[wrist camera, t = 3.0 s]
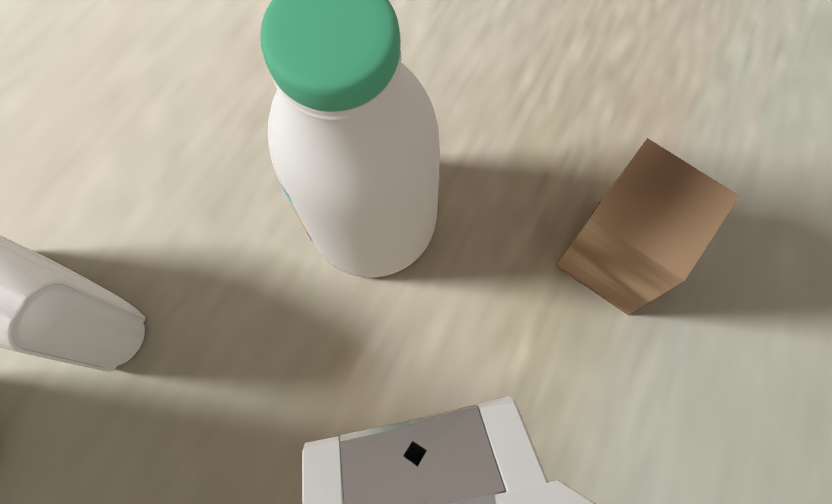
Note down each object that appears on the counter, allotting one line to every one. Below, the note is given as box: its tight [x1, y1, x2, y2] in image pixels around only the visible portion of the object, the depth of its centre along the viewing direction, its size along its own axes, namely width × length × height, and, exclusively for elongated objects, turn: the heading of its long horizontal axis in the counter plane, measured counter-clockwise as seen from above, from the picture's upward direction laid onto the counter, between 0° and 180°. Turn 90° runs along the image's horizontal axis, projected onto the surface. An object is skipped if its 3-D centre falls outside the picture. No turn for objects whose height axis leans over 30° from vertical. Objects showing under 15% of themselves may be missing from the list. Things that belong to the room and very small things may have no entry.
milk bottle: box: [261, 0, 440, 278], centre depth 32 cm, size 8×8×20 cm
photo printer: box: [0, 236, 146, 371], centre depth 35 cm, size 10×4×12 cm, turn 63°
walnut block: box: [556, 138, 740, 315], centre depth 37 cm, size 5×5×9 cm
